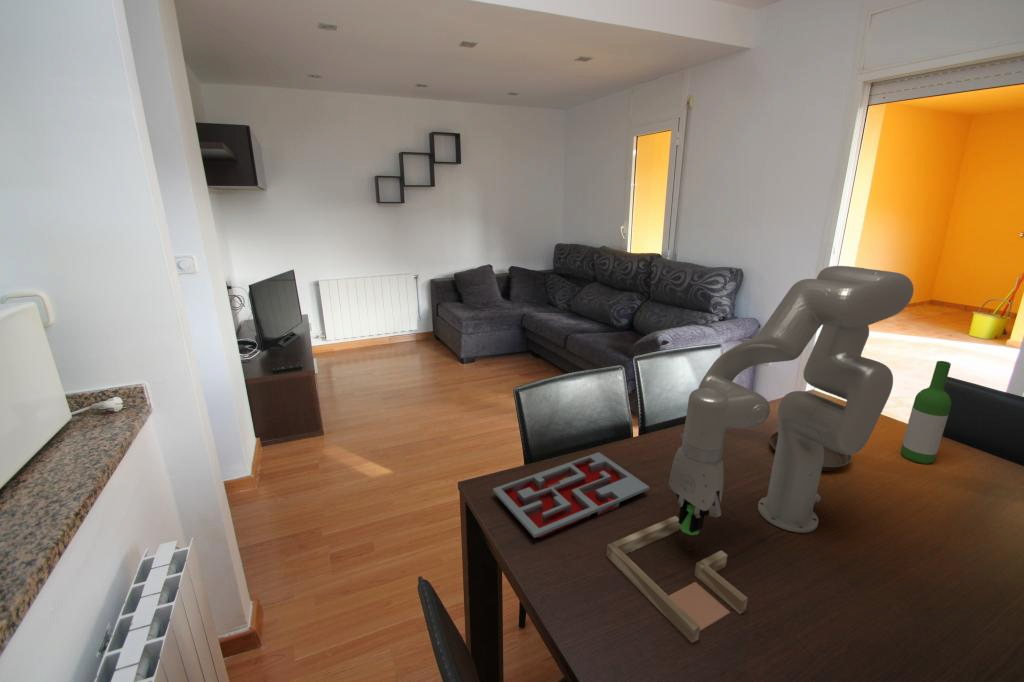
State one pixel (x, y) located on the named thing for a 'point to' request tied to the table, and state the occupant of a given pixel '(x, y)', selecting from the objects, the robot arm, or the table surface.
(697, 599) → the bent track
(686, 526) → the game piece
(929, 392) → the wine bottle
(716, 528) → the table surface
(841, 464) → the plant saucer
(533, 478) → the maze game
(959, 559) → the table surface
